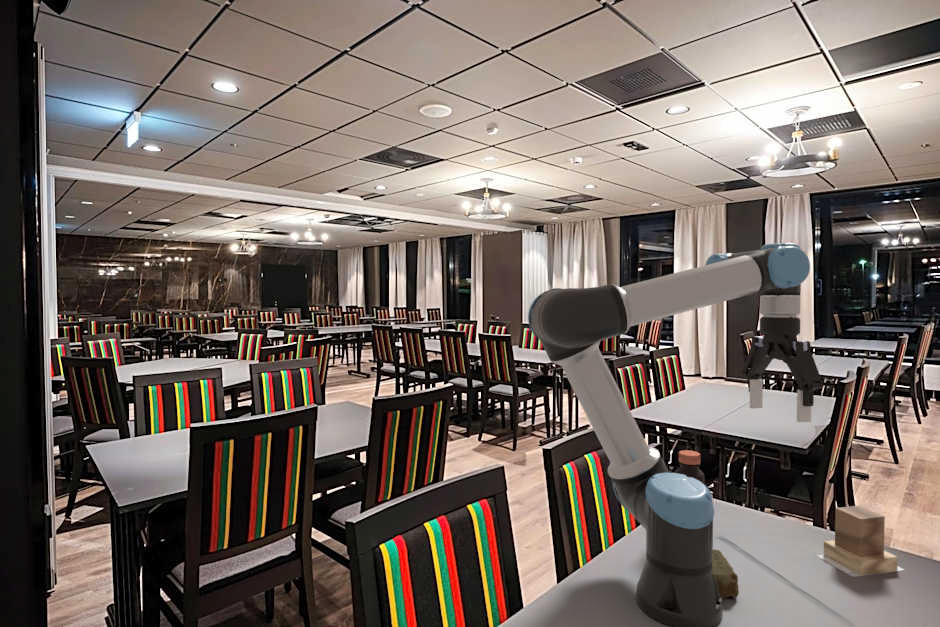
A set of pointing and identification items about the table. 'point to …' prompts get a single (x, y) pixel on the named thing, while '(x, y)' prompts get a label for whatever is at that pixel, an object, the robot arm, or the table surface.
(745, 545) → the table surface
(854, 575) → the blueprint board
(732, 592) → the stone block
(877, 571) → the oak plinth
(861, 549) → the walnut block
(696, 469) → the bottle
